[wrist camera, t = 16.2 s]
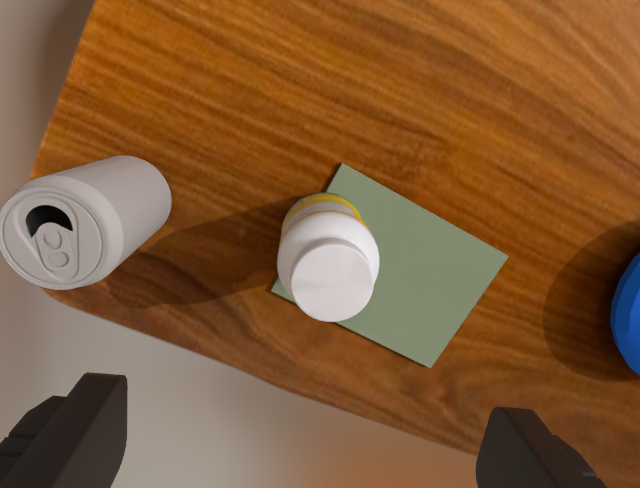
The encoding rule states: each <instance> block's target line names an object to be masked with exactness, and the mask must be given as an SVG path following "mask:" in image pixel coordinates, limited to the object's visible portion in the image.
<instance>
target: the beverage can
mask: <svg viewBox="0 0 640 488" xmlns="http://www.w3.org/2000/svg"><path fill="white" fill-rule="evenodd" d="M170 210H171V193H170V189H169V186H168V184H167V182H166V180H165V178H164V177H163V175H162V174H161V173H160V172H159V171H158V170H157V169H156V168H155V167H154V166H153V165H151V164H150V163H148V162H147V161H145V160H142V159H140V158H137V157H133V156H126V155H121V156H114V157H110V158H107V159H103V160H100V161H96V162H92V163H89V164H85V165H82V166H78V167H75V168H71V169H68V170H64V171H61V172H57V173H54V174H50V175H47V176H43V177H40V178H36V179H34V180H31V181H29V182H27V183H25V184H24V185H23V186H21V187H20V188H19V189H18V190H17V191H16V192H15V193H14V194H13V195H12V197H11V198H10V199H9V200H8V201H7V202H6V203H5V205H4V206H3V207H2V209H1V211H0V251H1V253H2V255H3V256H4V258H5V260H6V261H7V263H8V264H9V265H10V266H11V267H12V269H13V270H15V271H16V272H17V273H18V274H19V275H20V276H22V277H23V278H24V279H26V280H28V281H30V282H31V283H33V284H36V285H38V286H41V287H44V288H49V289H56V290H66V289H73V288H76V287H82V286H87V285H91V284H93V283H96V282H98V281H100V280H102V279H103V278H105V277H106V276H107V275H108V274H110V273H111V272H112V271H113V270H114V269H115V268H116V267H117V266H118V265H120V264H121V263H122V262H123V261H124V260H125V259H126V258H127V257H128V256H130V255H131V254H132V253H133V252H134V251H135V250H136V249H137V248H139V247H140V246H141V245H142V244H143V243H144V242H145V241H146V240H147V239H149V238H150V237H151V236H152V235H153V234H154V233H155V232H156V231H157V230H159V229H160V228H161V227H162V226H163V224H164V223H165V222H166V220H167V218H168V216H169V213H170Z"/></svg>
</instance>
